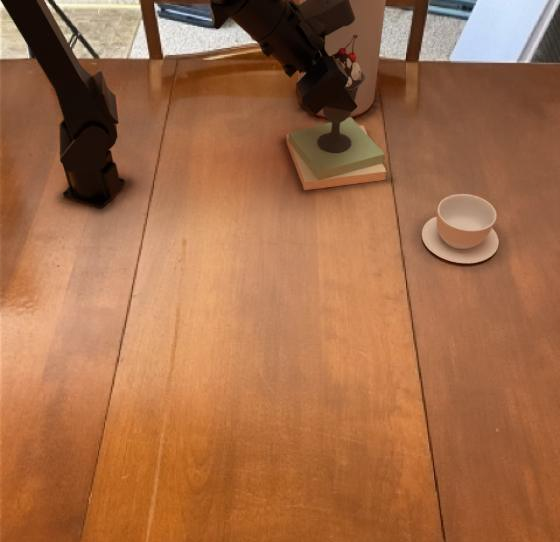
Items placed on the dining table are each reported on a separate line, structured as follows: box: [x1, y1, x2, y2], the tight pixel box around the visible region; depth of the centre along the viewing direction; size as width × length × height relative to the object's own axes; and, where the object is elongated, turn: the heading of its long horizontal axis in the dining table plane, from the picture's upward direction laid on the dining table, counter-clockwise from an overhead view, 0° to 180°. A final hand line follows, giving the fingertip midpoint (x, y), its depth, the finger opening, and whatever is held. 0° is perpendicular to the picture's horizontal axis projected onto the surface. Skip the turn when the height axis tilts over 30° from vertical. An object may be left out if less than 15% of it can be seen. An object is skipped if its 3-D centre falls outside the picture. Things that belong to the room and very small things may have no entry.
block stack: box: [286, 117, 387, 191], centre depth 99 cm, size 12×12×3 cm
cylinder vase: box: [297, 0, 387, 118], centre depth 101 cm, size 12×12×25 cm
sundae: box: [317, 35, 365, 153], centre depth 92 cm, size 7×7×15 cm
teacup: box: [421, 193, 499, 264], centre depth 88 cm, size 10×10×5 cm
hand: (348, 95), depth 93 cm, fingers closed on sundae, 6 cm apart
